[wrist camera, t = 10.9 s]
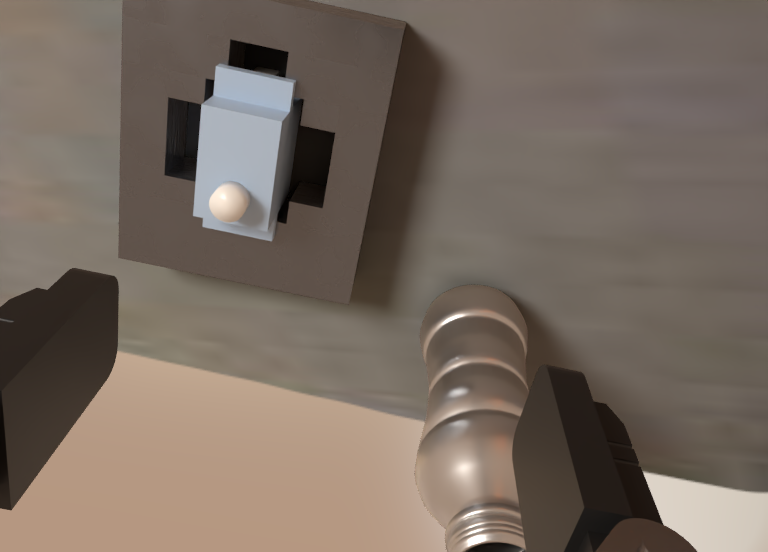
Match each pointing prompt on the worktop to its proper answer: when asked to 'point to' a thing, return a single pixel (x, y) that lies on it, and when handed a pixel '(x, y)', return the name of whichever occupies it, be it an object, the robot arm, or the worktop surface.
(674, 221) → the worktop surface
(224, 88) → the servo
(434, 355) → the plastic bottle
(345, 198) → the block with stepped hole
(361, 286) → the worktop surface
